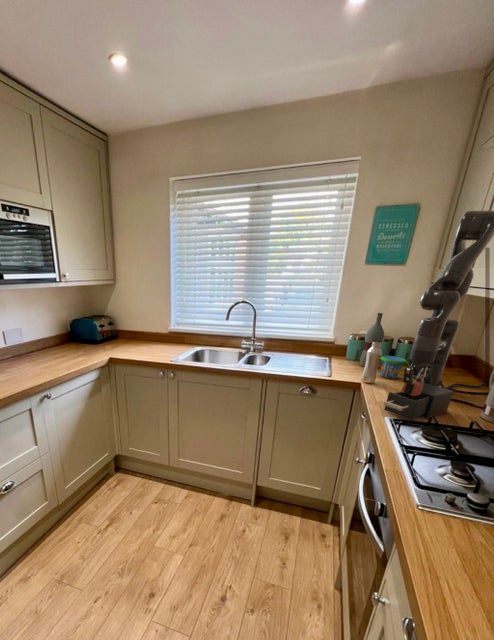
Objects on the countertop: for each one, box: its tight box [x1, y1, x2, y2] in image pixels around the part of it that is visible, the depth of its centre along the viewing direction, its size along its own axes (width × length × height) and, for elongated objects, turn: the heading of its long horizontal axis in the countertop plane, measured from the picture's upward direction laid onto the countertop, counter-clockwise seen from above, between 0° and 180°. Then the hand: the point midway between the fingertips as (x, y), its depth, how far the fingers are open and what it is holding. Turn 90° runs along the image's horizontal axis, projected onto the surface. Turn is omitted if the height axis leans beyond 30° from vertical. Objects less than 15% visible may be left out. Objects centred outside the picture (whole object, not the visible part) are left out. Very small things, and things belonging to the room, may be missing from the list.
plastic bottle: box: [360, 342, 383, 384], centre depth 160 cm, size 6×7×20 cm
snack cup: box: [379, 355, 410, 380], centre depth 171 cm, size 16×10×10 cm
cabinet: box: [401, 382, 454, 419], centre depth 131 cm, size 14×12×9 cm
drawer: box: [383, 390, 432, 421], centre depth 125 cm, size 18×10×7 cm, turn 118°
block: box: [401, 379, 424, 396], centre depth 124 cm, size 4×4×4 cm
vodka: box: [359, 312, 385, 368], centre depth 188 cm, size 9×9×30 cm
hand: (411, 392), depth 124 cm, fingers closed on block, 4 cm apart
